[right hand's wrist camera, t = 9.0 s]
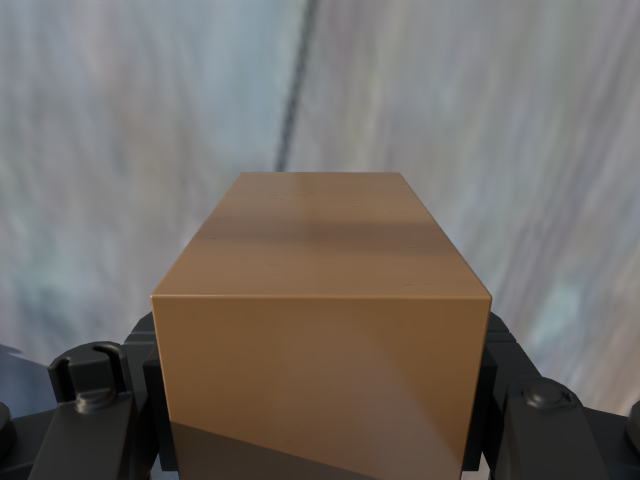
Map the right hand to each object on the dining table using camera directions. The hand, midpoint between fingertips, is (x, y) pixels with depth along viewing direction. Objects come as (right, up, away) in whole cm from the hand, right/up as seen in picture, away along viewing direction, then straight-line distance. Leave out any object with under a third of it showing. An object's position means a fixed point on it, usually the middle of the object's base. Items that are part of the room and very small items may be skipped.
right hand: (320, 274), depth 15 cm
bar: (0, -10, +5) cm, 11 cm away
